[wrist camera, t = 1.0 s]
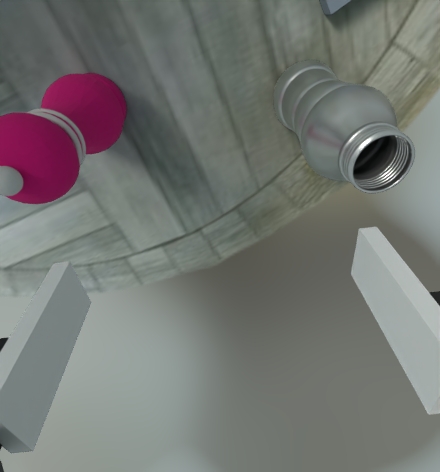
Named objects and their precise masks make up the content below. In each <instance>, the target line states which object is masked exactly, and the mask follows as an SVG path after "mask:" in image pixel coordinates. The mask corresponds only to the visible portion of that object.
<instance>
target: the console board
mask: <svg viewBox="0 0 440 472" xmlns="http://www.w3.org/2000/svg"><path fill="white" fill-rule="evenodd" d="M319 1H320V4H321V6H322V9H323V12H324V14H333V13H334V12H335V11H337V10H338V9H340V8H341V7H342V6H344V5H345V4H347V3H348V2H350V1H351V0H319Z"/></svg>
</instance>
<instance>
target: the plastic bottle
mask: <svg viewBox="0 0 440 472" xmlns="http://www.w3.org/2000/svg"><path fill="white" fill-rule="evenodd" d="M273 105H274V111H275V114H276V116H277V118H278V120H279V121H280V122H281V123H282V124H283V125H284V126H286V127H287V128H288V129H290V130H292V131H294V132H295V133H296V134H297V136H298V138H299V141H300V145H301V149H302V152H303V155H304V157H305V160H306V161H307V163H308V165H309V166H310V168H311V169H312V170H313V171H314V172H316V173H317V174H319V175H320V176H323V177H325V178H328V179H331V180H336V181H348V182H350V183H352V184H353V185H354V187H356V188H357V189H358V190H360V191H362V192H365V193H379V192H383V191H386V190H388V189H390V188H392V187H394V186H395V185H397V184H398V183H399V182H400V181H401V180H402V179H403V178H404V177H405V176H406V175H407V173H408V172H409V170H410V168H411V167H412V164H413V161H414V156H415V149H414V145H413V143H412V141H411V140H410V139H409V138H408V137H407V136H406V135H405V134H403V133H402V132H400V130H399V129H398V128H397V119H396V114H395V111H394V109H393V107H392V104H391V103H390V101H389V99H388V98H387V96H385V95H384V94H383V93H382V92H381V91H379V90H377V89H375V88H373V87H369V86H366V85H361V84H351V83H345V82H342V81H340V80H338V79H337V77H336V75H335V74H334V72H333V71H332V70H331V69H330V67H328V66H327V65H326V64H325V63H322V62H320V61H317V60H305V61H301V62H297V63H295V64H293V65H291V66H290V67H289V68H287V69H286V70H285V71H284V72H283V73H282V75H281V76H280V78H279V79H278V81H277V83H276V86H275V89H274V94H273Z"/></svg>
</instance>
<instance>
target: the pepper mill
mask: <svg viewBox="0 0 440 472" xmlns="http://www.w3.org/2000/svg"><path fill="white" fill-rule="evenodd" d="M126 113H127V108H126V102H125V99H124V96H123V94H122V92H121V91H120V89H119V88H118V87H117V86H116V84H114V83H113V82H112V81H111V80H110V79H108V78H106V77H104V76H102V75H99V74H95V73H86V74H69V75H65V76H63V77H61V78H59V79H58V80H57V81H55V82H54V83H53V84H51V85H50V87H49V88H48V89H47V91H46V93H45V95H44V97H43V100H42V105H41V109H34V110H31V111H29V112H27V113H10V114H6V115H3V116H0V195H2V196H6V197H8V198H10V199H12V200H15V201H18V202H22V203H28V204H43V203H47V202H51V201H53V200H56V199H58V198H60V197H61V196H63V195H64V194H66V193H67V192H68V191H69V190H70V189H71V187H72V186H73V185H74V183H75V182H76V179H77V177H78V174H79V168H80V165H81V164H82V162H83V161H84V158H85V154H94V153H99V152H102V151H104V150H106V149H108V148H109V147H110V146H112V145H113V144H114V143H115V142H116V141H117V139H118V138H119V136H120V134H121V132H122V128H123V122H124V120H125V118H126Z"/></svg>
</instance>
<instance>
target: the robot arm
mask: <svg viewBox="0 0 440 472" xmlns="http://www.w3.org/2000/svg"><path fill="white" fill-rule="evenodd" d="M351 275H352V277H353V279H354V281H355V283H356V284H357V286H358V288H359V290H360V292H361V293H362V295H363V297H364V299H365V301H366V302H367V304H368V306H369V308H370V310H371V311H372V313H373V315H374V316H375V319H376V321H377V322H378V324H379V326H380V328H381V329H382V331H383V333H384V335H385V337H386V338H387V340H388V342H389V344H390V346H391V348H392V349H393V351H394V353H395V355H396V357H397V358H398V360H399V362H400V364H401V366H402V367H403V369H404V371H405V373H406V375H407V376H408V378H409V380H410V382H411V384H412V385H413V387H414V389H415V391H416V393H417V394H418V396H419V398H420V400H421V402H422V404H423V405H424V407H425V409H426V411H427V413H428V414H429V415H430V414H440V291H439V292H428V291H427V290H426V288H425V287H424V286H423V285H422V283H421V282H420V281H419V280H418V278H417V277H416V276H415V275H414V273H413V272H412V271H411V269H410V268H409V267H408V266H407V264H406V263H405V262H404V261H403V259H402V258H401V257H400V256H399V255H398V253H397V252H396V251H395V249H394V248H393V247H392V246H391V244H390V243H389V242H388V241H387V239H386V238H385V237H384V236H383V234H382V233H381V232H380V230H379V229H378V228H377V227H370V228H361V229H359V232H358V238H357V243H356V249H355V254H354V260H353V265H352V271H351ZM90 304H91V301H90V299H89V297H88V295H87V293H86V291H85V290H84V288H83V286H82V284H81V282H80V280H79V278H78V276H77V274H76V272H75V270H74V268H73V266H72V264H71V262H70V261H69V262H61V263H54V264H53V265H52V267H51V269H50V270H49V272H48V274H47V275H46V277H45V279H44V280H43V282H42V284H41V285H40V287H39V289H38V290H37V292H36V294H35V295H34V297H33V299H32V300H31V302H30V304H29V305H28V307H27V309H26V310H25V312H24V314H23V315H22V317H21V319H20V320H19V322H18V324H17V325H16V327H15V329H14V331H13V332H12V334H11V335H10V337H9V338H1V339H0V449H1V447H2V446H3V447H4V448H5V449H6V450H8V451H9V452H10V453H19V452H29V451H33V450H34V447H35V445H36V442H37V440H38V437H39V435H40V432H41V429H42V427H43V424H44V421H45V419H46V417H47V414H48V412H49V409H50V406H51V404H52V401H53V399H54V396H55V394H56V391H57V389H58V386H59V383H60V381H61V378H62V376H63V373H64V371H65V368H66V366H67V363H68V360H69V358H70V355H71V353H72V350H73V348H74V345H75V342H76V340H77V337H78V335H79V332H80V330H81V327H82V325H83V322H84V320H85V317H86V314H87V312H88V309H89V307H90ZM0 472H4V471H3V467H2V463H1V461H0Z"/></svg>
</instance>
